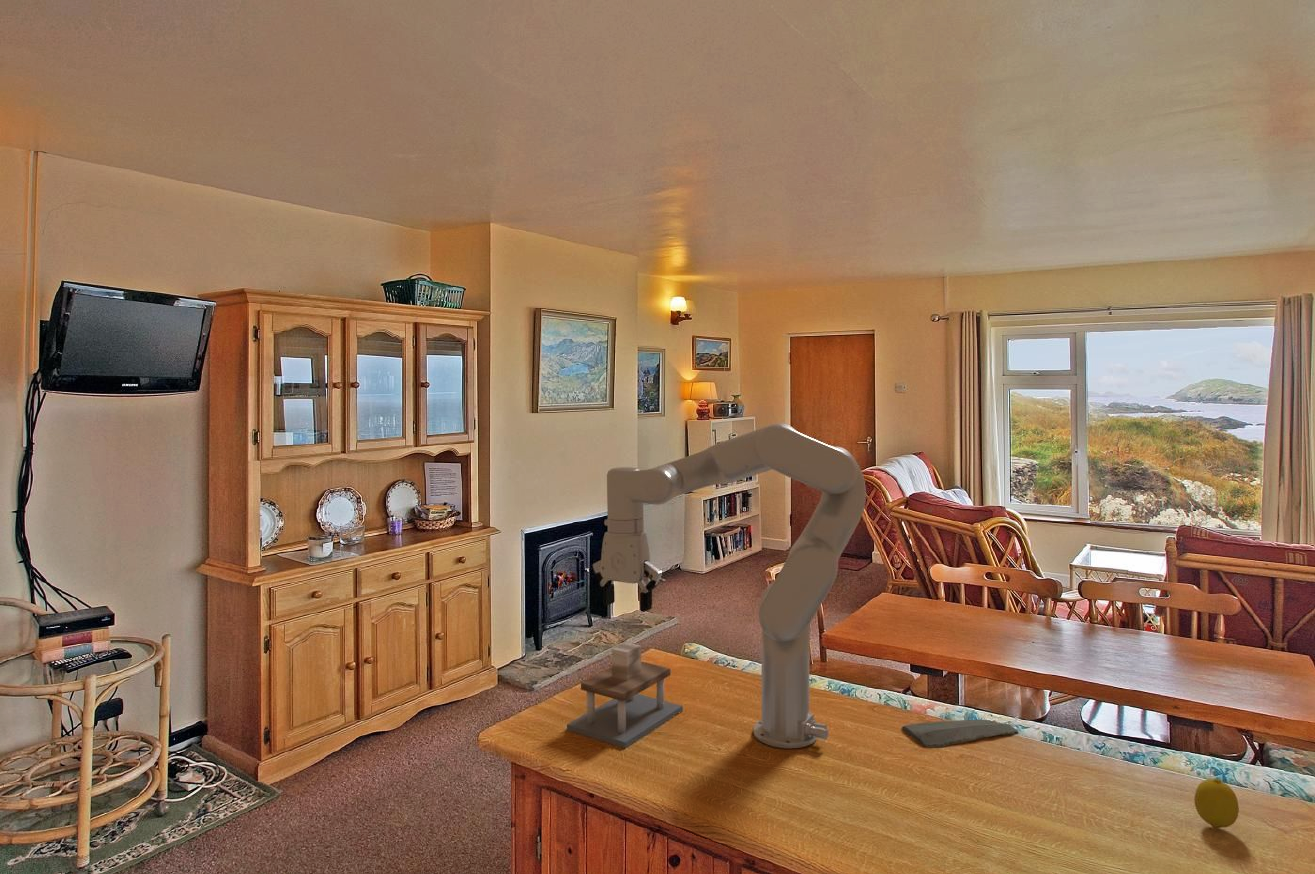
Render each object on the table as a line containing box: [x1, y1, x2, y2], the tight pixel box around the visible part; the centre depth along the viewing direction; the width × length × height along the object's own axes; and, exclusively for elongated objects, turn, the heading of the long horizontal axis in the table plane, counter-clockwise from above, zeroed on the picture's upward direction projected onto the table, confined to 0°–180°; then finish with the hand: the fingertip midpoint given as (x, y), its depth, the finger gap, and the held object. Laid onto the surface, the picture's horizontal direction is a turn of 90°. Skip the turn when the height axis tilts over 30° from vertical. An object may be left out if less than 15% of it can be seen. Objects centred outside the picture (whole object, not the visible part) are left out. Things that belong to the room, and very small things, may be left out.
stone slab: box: [901, 719, 1020, 749], centre depth 151 cm, size 22×3×10 cm
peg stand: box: [566, 679, 684, 749], centre depth 157 cm, size 15×21×8 cm
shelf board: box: [580, 642, 671, 701], centre depth 156 cm, size 17×11×8 cm, turn 146°
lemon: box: [1193, 777, 1240, 830], centre depth 116 cm, size 6×6×8 cm
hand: (627, 607), depth 156 cm, fingers open, 9 cm apart
